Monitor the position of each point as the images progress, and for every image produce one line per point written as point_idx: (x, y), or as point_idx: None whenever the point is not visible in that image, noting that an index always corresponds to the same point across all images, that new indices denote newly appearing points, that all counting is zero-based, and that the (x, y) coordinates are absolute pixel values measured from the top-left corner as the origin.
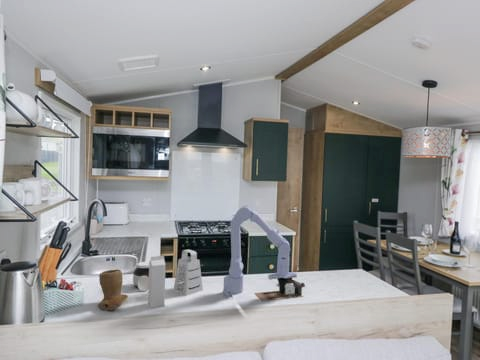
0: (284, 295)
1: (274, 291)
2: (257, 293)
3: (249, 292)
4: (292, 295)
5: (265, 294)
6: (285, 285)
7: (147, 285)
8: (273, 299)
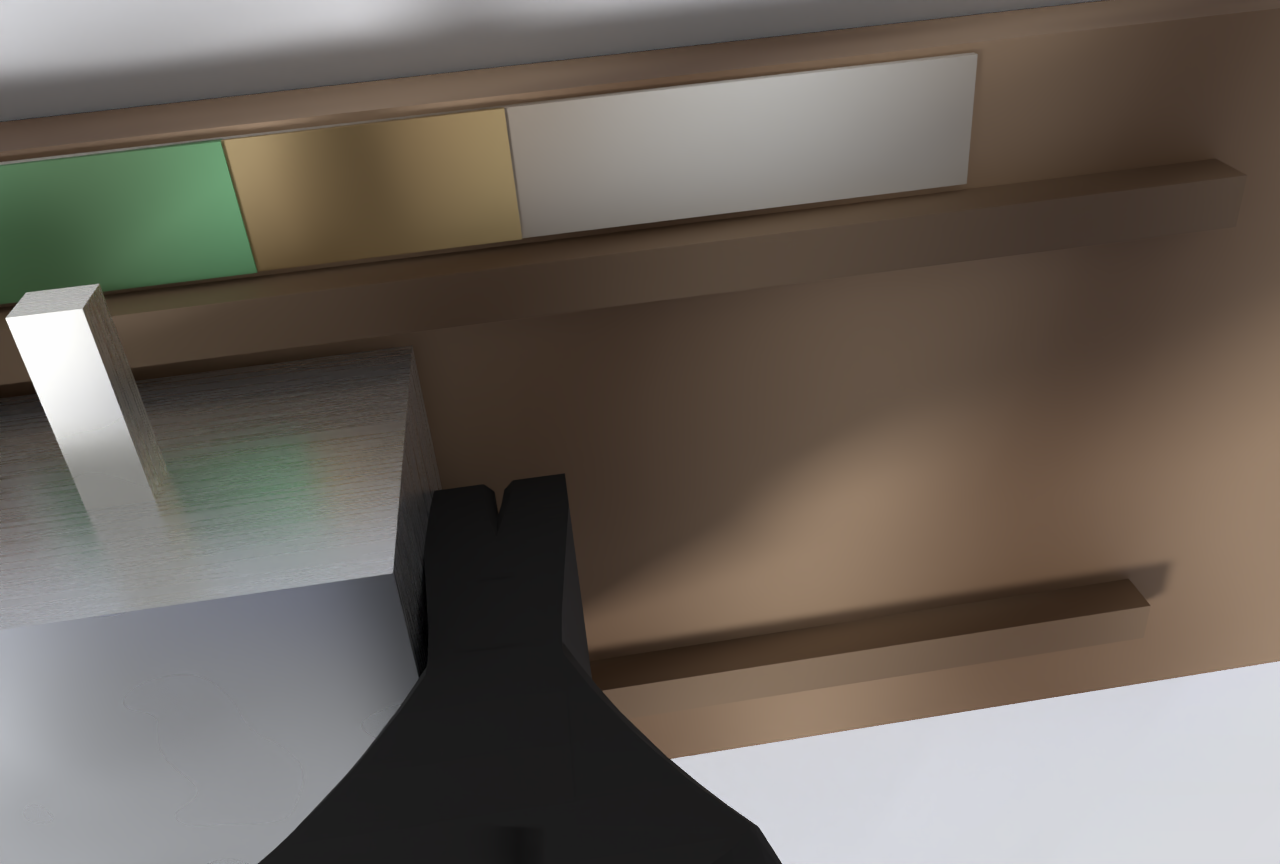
0: None
1: (714, 695)
2: (1267, 630)
3: (1276, 773)
4: None
5: (1074, 552)
6: None
7: None
8: (1045, 89)
